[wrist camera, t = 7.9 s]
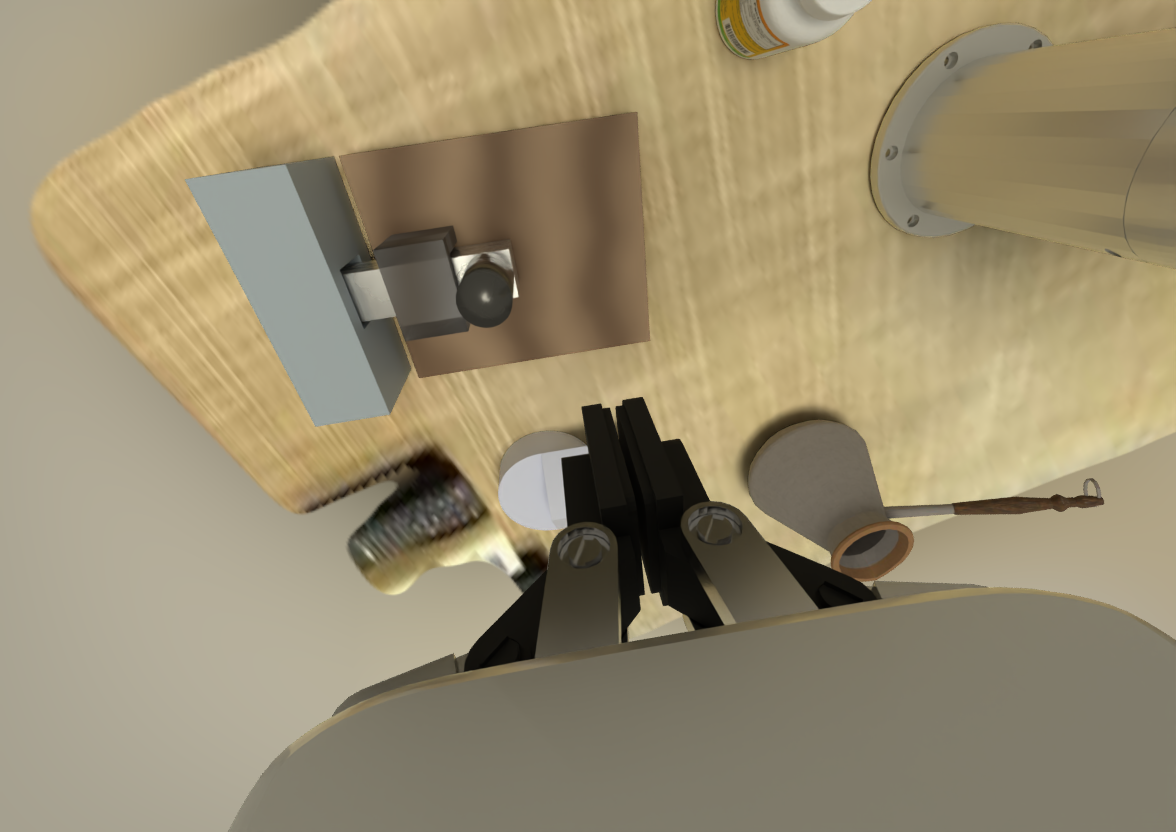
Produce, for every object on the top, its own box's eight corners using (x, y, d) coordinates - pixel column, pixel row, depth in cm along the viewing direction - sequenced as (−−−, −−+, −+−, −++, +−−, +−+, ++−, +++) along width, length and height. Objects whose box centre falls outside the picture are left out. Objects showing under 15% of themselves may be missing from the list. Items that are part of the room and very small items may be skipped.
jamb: (333, 156, 29) (285, 164, 24) (411, 368, 37) (389, 414, 32) (253, 168, 29) (184, 179, 23) (348, 378, 37) (315, 426, 31)
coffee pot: (749, 513, 51) (824, 642, 38) (725, 434, 45) (804, 557, 32) (948, 439, 48) (1098, 551, 36) (951, 345, 42) (1133, 440, 29)
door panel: (630, 112, 30) (654, 110, 24) (644, 331, 38) (664, 365, 33) (349, 154, 29) (309, 161, 24) (423, 366, 37) (406, 408, 32)
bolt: (510, 238, 31) (505, 269, 24) (519, 283, 33) (517, 323, 26) (328, 267, 31) (275, 305, 24) (346, 310, 32) (301, 357, 26)
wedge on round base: (632, 416, 42) (490, 439, 42) (649, 461, 37) (484, 488, 36) (638, 490, 47) (511, 512, 47) (654, 540, 42) (509, 565, 41)
